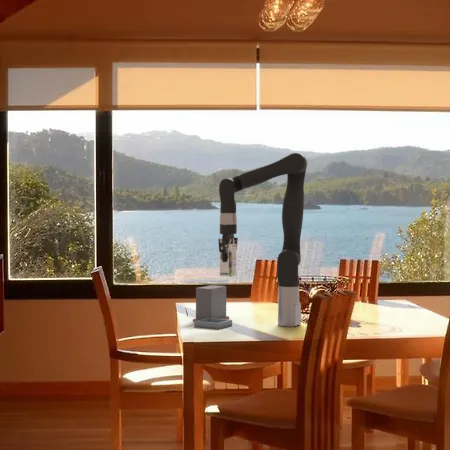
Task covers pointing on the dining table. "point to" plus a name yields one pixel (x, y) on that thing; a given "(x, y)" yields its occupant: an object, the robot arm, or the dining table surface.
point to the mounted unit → (211, 302)
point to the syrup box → (229, 262)
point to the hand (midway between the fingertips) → (228, 261)
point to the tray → (213, 323)
